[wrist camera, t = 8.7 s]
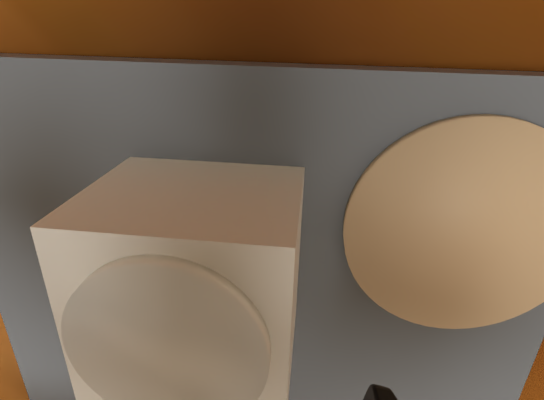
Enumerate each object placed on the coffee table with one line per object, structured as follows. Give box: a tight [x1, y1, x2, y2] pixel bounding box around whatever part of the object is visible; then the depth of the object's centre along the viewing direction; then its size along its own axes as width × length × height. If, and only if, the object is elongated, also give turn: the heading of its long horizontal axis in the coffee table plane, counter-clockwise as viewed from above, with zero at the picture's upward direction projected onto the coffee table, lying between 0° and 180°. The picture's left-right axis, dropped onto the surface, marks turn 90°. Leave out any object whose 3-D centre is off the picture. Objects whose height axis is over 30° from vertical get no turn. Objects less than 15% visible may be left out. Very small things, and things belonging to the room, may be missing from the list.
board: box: [0, 53, 544, 400], centre depth 12 cm, size 19×20×7 cm
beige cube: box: [30, 157, 305, 400], centre depth 11 cm, size 5×5×5 cm
